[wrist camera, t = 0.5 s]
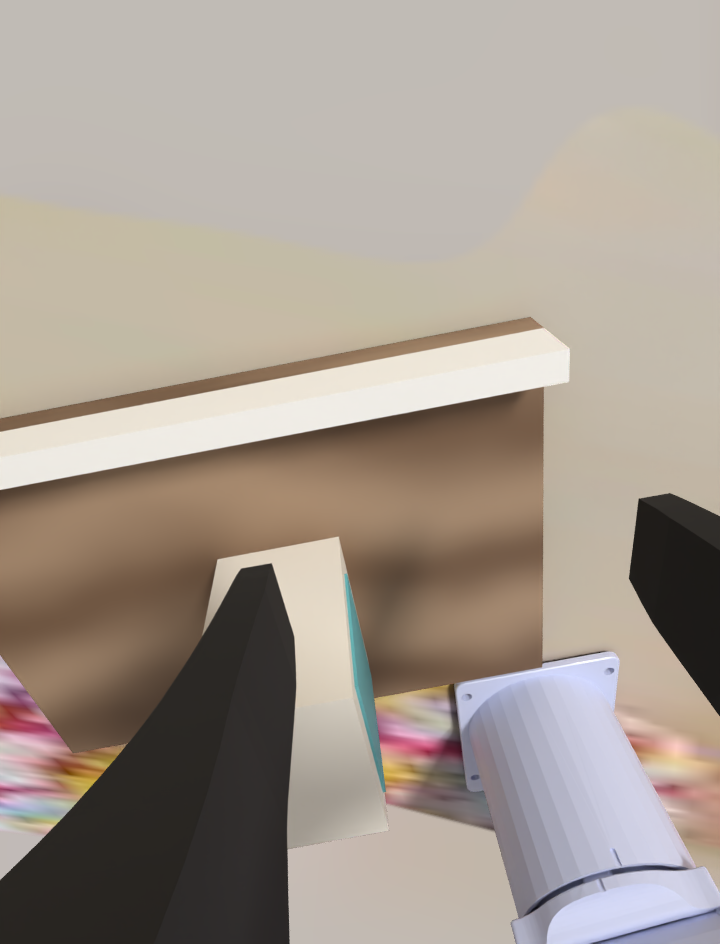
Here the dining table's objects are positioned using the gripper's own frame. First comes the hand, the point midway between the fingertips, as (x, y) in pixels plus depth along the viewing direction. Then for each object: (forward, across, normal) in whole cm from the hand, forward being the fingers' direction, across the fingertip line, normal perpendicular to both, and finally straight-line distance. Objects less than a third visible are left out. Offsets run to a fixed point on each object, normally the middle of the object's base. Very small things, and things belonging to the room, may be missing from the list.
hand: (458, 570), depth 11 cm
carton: (+8, +5, +9) cm, 13 cm away
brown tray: (+10, +6, +7) cm, 13 cm away
